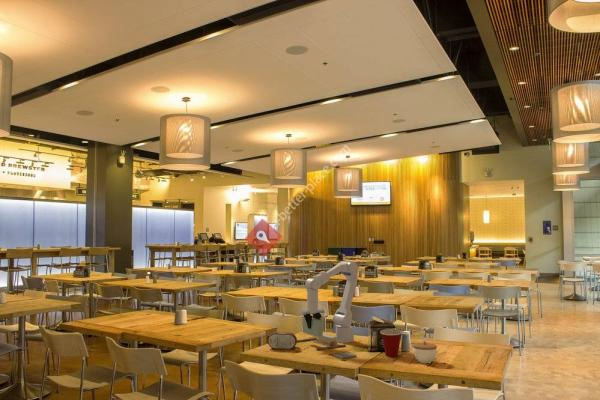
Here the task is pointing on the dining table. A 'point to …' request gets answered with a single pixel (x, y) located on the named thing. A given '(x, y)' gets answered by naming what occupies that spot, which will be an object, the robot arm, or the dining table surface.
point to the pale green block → (313, 327)
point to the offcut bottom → (326, 342)
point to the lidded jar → (424, 352)
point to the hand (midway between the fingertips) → (312, 328)
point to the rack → (322, 344)
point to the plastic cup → (391, 341)
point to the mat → (343, 355)
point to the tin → (282, 340)
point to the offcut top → (328, 338)
